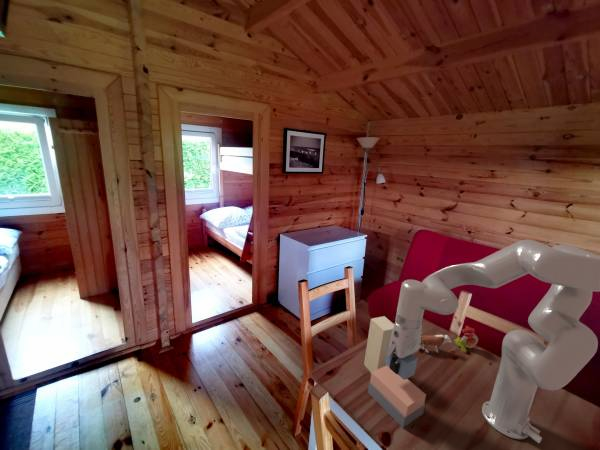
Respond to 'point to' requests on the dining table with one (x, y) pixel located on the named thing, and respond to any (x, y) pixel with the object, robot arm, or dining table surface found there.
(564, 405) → the dining table surface
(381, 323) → the toy refrigerator
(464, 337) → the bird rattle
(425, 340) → the bull figurine
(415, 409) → the pink and grey block
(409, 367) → the slate brick
